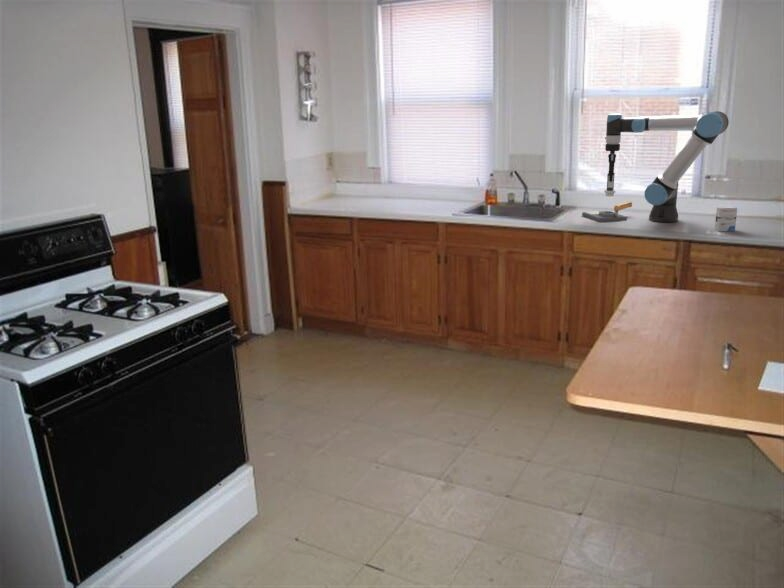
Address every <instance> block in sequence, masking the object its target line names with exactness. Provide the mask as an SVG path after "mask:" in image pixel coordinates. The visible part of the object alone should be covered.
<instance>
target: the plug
mask: <svg viewBox="0 0 784 588" xmlns="http://www.w3.org/2000/svg"><path fill="white" fill-rule="evenodd" d="M606 178H607V181H606V189H604V193H605V196H606V197H615V193H616V192H617V190H616V189H614V187H615V177H614V178H613V188H608V176H607V177H606Z"/></svg>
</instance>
